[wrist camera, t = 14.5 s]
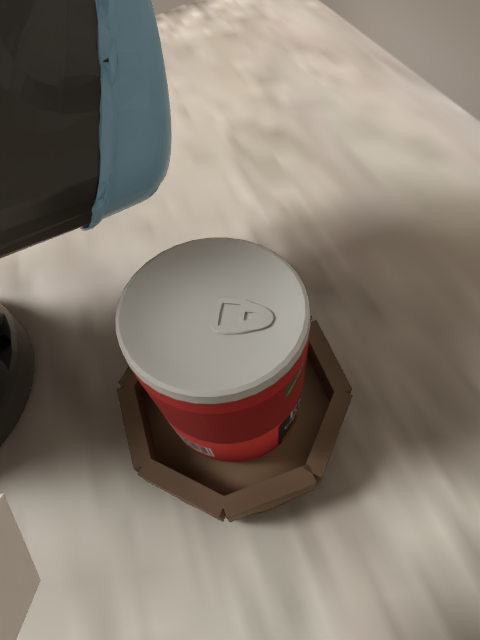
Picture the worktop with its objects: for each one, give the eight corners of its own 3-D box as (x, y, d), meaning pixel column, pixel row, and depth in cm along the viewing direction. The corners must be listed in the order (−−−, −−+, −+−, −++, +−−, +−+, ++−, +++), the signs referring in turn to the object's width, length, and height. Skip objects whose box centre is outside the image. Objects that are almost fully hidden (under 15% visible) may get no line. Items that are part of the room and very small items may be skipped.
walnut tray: (97, 456, 27) (78, 442, 24) (197, 297, 32) (190, 272, 30) (290, 558, 23) (292, 556, 21) (365, 360, 29) (373, 338, 26)
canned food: (311, 455, 25) (332, 380, 15) (173, 475, 25) (109, 413, 15) (287, 339, 29) (291, 222, 19) (168, 356, 29) (114, 248, 19)
